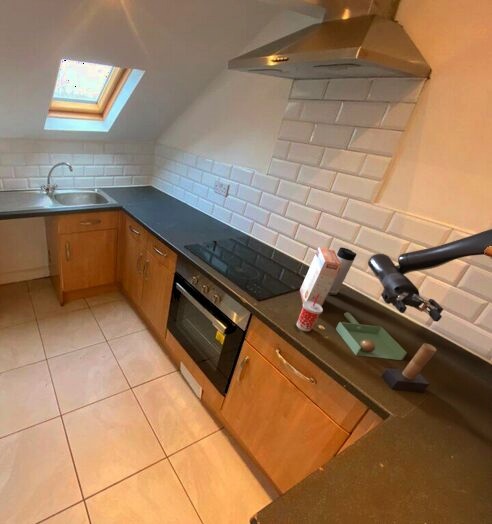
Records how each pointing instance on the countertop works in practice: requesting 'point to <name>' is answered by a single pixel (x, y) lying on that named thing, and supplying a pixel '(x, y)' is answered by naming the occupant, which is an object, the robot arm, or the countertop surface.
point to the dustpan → (380, 338)
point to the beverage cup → (309, 315)
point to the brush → (410, 372)
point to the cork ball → (367, 345)
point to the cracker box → (320, 276)
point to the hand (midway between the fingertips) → (420, 314)
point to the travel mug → (342, 268)
